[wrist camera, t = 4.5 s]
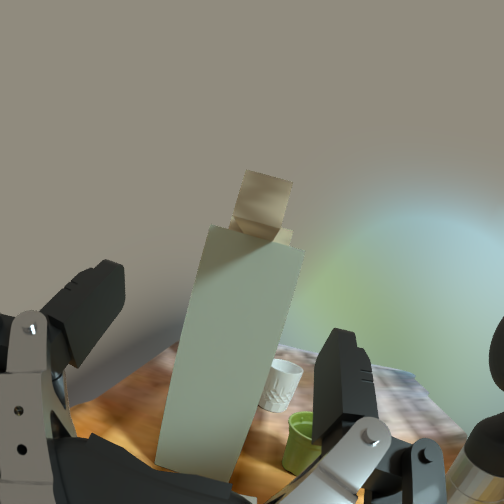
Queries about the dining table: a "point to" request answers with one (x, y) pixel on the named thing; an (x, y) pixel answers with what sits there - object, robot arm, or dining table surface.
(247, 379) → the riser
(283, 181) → the beige long bar
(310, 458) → the plant pot
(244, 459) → the dining table surface
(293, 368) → the white cup
